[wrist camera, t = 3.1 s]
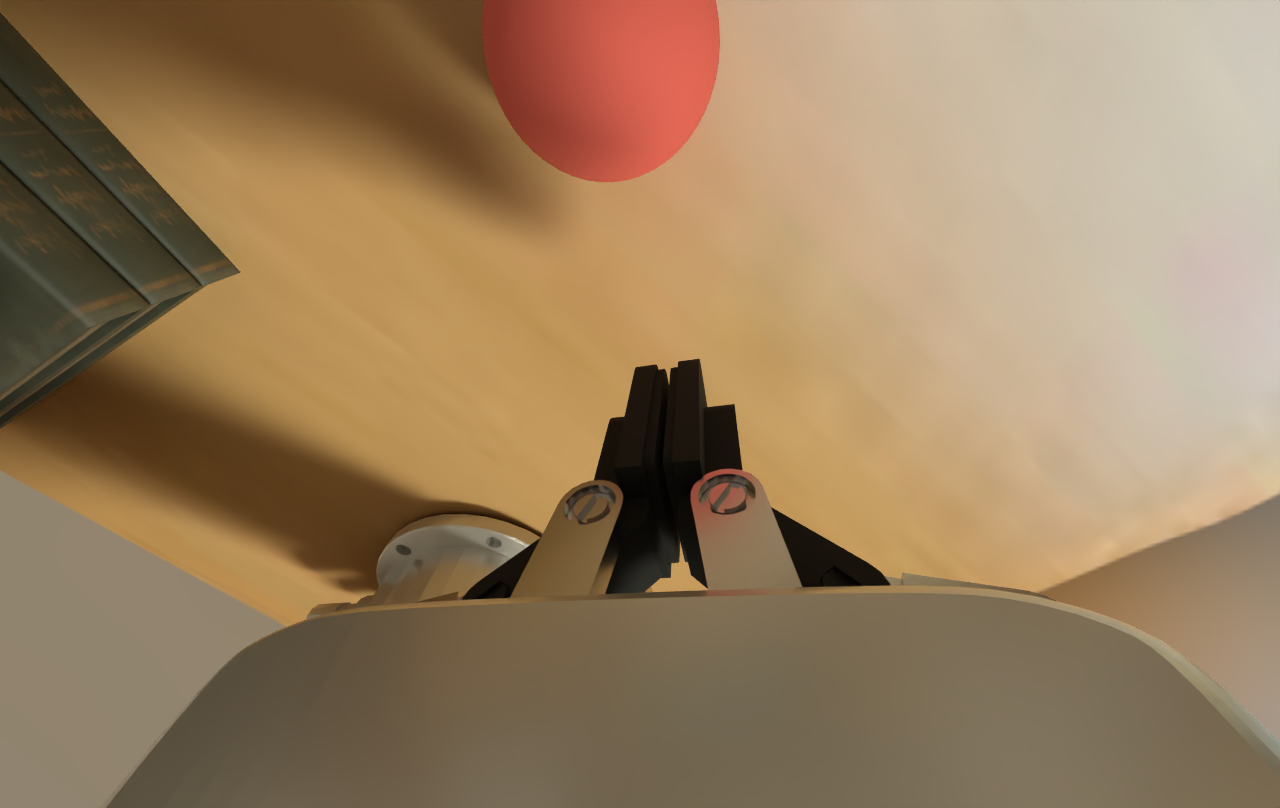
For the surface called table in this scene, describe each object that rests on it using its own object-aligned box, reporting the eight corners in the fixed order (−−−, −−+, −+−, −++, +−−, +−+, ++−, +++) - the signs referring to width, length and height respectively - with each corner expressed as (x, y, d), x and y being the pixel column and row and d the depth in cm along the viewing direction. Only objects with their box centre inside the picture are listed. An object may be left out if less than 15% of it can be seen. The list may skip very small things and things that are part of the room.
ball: (554, 186, 17) (498, 219, 12) (495, -34, 14) (384, -117, 9) (723, 149, 16) (742, 167, 11) (699, -97, 13) (709, -235, 8)
